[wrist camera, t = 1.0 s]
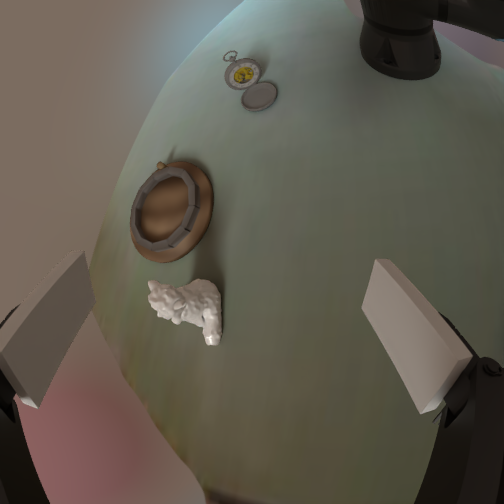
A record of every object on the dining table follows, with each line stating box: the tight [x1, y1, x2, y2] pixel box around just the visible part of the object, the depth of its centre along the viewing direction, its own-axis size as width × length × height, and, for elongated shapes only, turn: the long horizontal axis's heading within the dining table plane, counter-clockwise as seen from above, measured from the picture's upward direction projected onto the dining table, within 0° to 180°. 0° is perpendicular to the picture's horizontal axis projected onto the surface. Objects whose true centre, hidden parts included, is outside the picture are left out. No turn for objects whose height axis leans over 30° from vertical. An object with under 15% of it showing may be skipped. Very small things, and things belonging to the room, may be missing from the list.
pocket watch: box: [223, 51, 277, 111], centre depth 41 cm, size 8×8×10 cm
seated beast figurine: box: [148, 278, 223, 345], centre depth 36 cm, size 10×9×12 cm
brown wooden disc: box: [130, 162, 214, 263], centre depth 46 cm, size 18×18×3 cm
